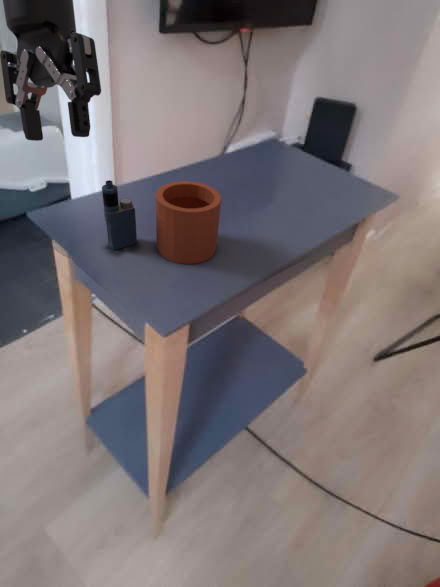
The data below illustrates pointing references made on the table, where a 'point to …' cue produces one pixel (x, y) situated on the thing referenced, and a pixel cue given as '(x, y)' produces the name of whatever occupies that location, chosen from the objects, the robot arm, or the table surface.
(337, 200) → the table surface
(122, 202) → the vaping device
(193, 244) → the terracotta planter pot
